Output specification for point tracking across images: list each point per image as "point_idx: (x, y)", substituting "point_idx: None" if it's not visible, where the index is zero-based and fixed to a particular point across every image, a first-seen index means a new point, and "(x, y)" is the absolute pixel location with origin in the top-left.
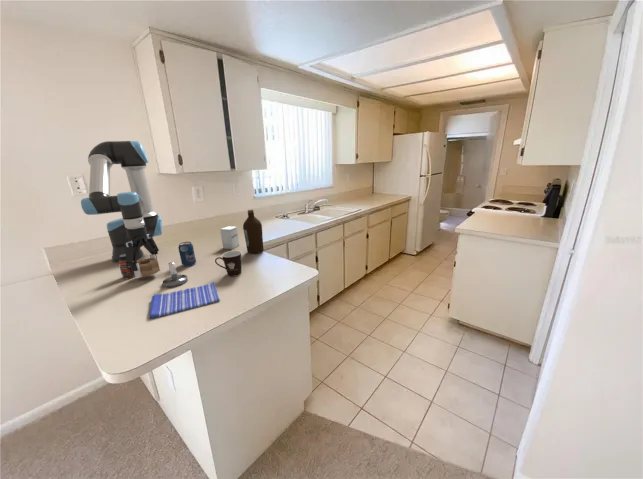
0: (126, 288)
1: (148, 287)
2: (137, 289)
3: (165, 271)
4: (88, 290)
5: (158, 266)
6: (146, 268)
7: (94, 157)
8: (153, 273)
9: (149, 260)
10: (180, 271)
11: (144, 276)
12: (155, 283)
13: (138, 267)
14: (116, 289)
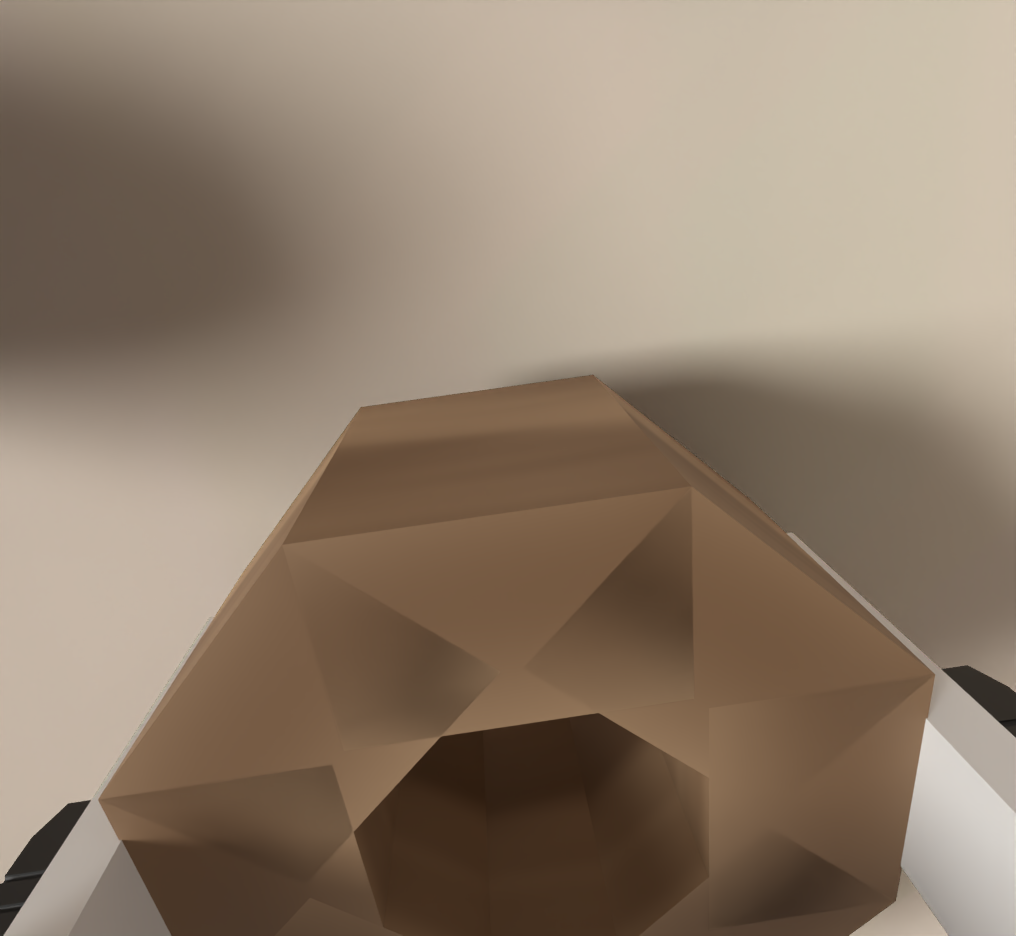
0: (939, 553)
1: (943, 146)
2: (1008, 317)
3: (178, 469)
4: (942, 929)
5: (359, 449)
6: (775, 535)
7: None
8: (599, 384)
9: (354, 862)
10: (12, 57)
11: (737, 491)
12: (750, 155)
13: (975, 707)
14: (957, 665)
